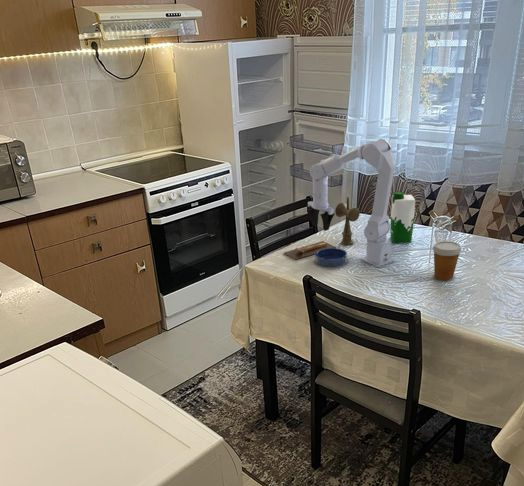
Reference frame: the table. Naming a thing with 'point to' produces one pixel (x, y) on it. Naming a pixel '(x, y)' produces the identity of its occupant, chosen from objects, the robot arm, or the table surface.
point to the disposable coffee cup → (445, 259)
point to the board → (300, 255)
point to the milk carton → (402, 217)
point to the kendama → (347, 220)
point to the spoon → (310, 247)
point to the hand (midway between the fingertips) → (320, 227)
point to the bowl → (331, 257)
